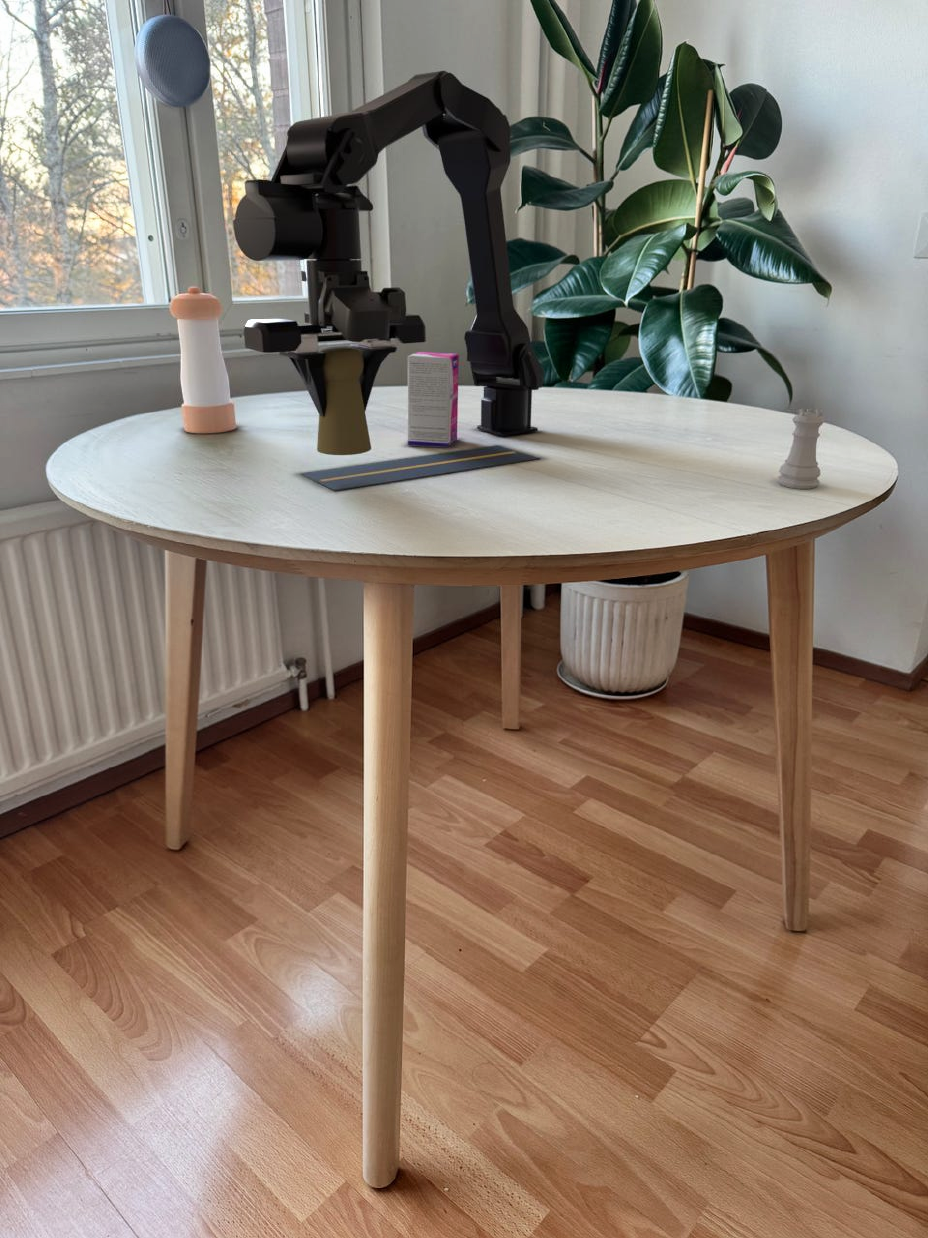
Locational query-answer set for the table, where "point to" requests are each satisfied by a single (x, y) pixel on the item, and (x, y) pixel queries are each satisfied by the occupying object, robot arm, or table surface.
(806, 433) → the rook chess piece
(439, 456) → the line mat
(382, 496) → the table surface
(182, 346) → the salt shaker
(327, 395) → the cork
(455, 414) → the supplement box
